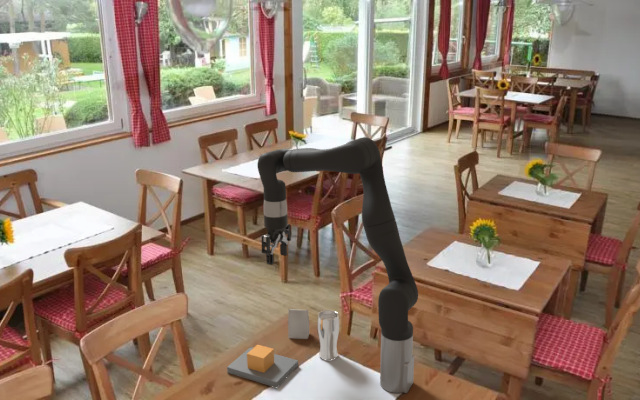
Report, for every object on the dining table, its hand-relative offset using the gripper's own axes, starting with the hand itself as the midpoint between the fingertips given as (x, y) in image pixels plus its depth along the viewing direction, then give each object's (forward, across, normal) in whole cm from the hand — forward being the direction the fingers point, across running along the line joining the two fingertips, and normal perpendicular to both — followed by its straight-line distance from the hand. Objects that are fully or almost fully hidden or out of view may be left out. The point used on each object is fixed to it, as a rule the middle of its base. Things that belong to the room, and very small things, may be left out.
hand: (277, 259), depth 193 cm
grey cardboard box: (+30, +6, -4) cm, 31 cm away
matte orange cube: (+28, -18, -4) cm, 34 cm away
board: (+30, -17, -4) cm, 35 cm away
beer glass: (+30, -1, -19) cm, 36 cm away
